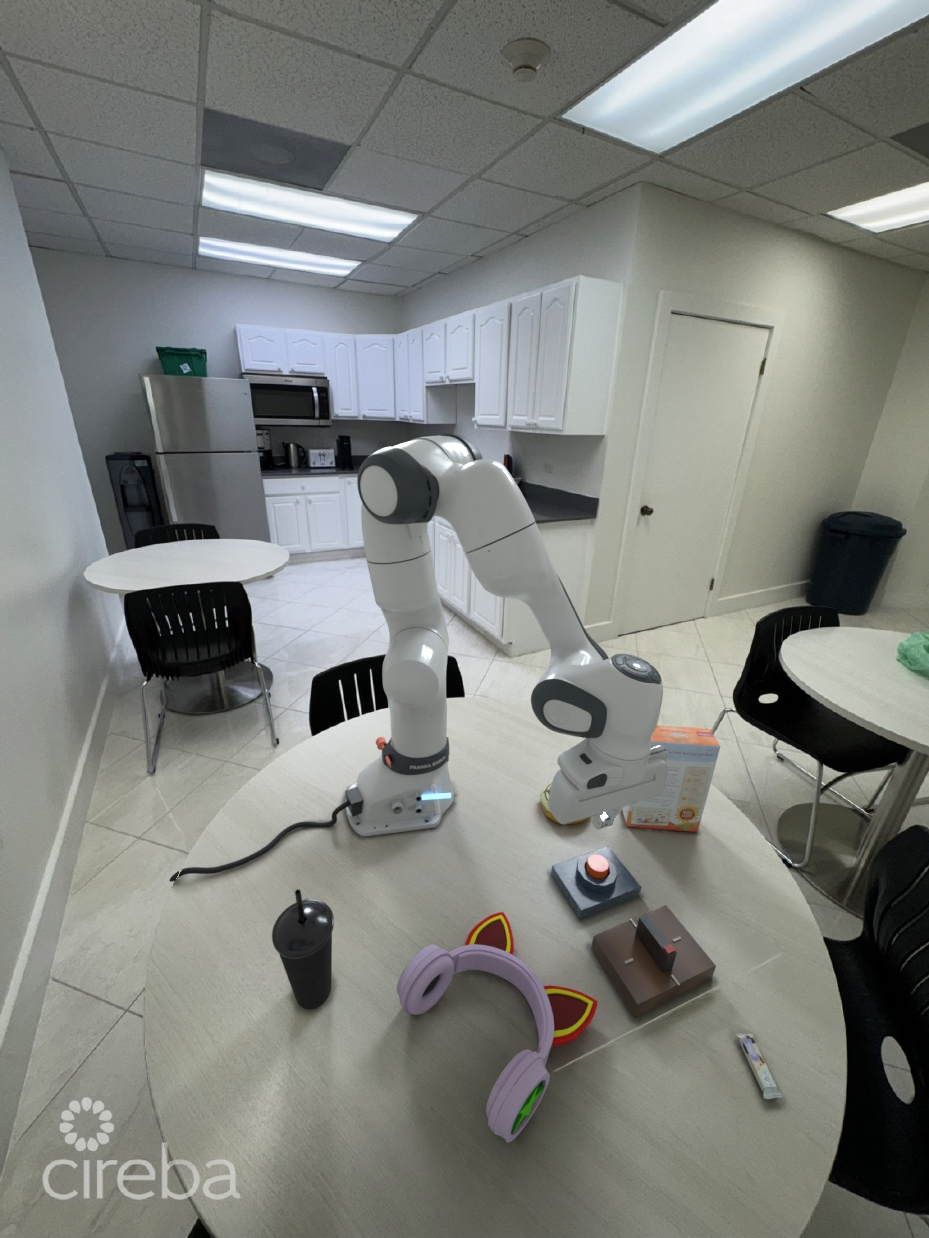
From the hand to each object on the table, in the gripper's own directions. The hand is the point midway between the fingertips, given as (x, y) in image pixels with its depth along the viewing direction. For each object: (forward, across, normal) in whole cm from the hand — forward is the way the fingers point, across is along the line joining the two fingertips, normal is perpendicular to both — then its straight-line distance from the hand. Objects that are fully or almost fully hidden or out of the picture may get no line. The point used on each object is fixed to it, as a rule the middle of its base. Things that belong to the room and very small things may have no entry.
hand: (601, 824), depth 80 cm
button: (+10, -1, +1) cm, 10 cm away
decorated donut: (+14, -6, -16) cm, 22 cm away
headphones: (+14, +24, +13) cm, 30 cm away
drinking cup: (+15, +46, 0) cm, 49 cm away
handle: (+10, 0, +15) cm, 18 cm away
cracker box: (+13, -22, -7) cm, 26 cm away
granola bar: (+13, -4, +30) cm, 33 cm away
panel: (+13, 0, +15) cm, 20 cm away
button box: (+14, -1, +1) cm, 14 cm away
